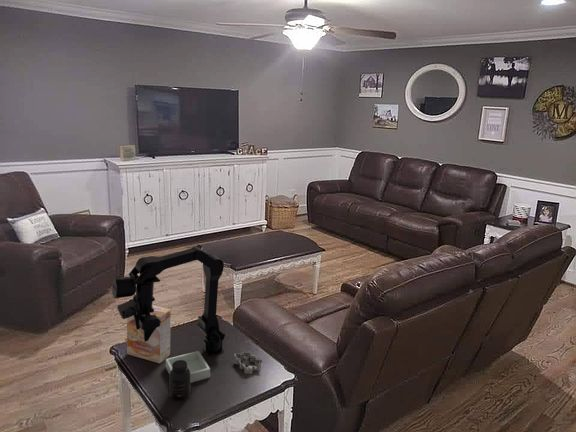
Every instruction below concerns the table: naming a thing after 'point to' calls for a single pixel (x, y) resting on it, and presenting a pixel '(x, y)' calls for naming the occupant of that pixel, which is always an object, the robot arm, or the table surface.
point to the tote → (192, 365)
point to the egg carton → (247, 361)
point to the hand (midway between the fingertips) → (141, 334)
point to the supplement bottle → (179, 381)
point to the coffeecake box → (158, 341)
